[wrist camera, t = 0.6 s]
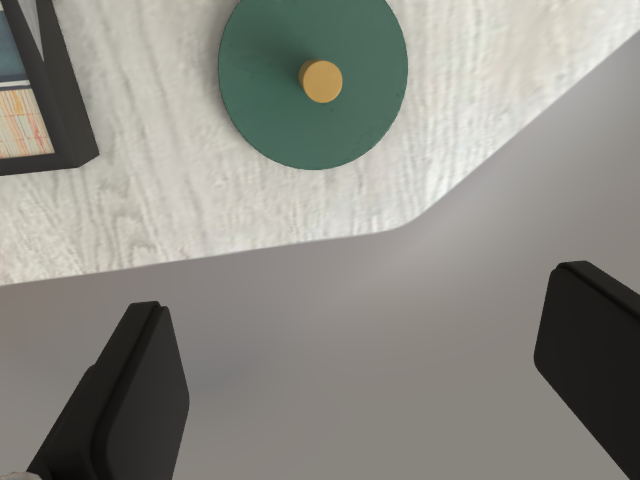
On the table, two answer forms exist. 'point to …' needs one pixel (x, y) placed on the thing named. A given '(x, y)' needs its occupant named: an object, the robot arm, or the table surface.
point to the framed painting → (39, 97)
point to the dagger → (32, 20)
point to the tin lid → (312, 77)
